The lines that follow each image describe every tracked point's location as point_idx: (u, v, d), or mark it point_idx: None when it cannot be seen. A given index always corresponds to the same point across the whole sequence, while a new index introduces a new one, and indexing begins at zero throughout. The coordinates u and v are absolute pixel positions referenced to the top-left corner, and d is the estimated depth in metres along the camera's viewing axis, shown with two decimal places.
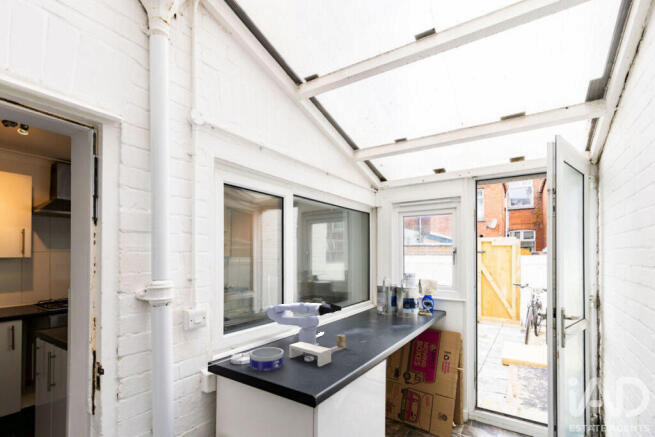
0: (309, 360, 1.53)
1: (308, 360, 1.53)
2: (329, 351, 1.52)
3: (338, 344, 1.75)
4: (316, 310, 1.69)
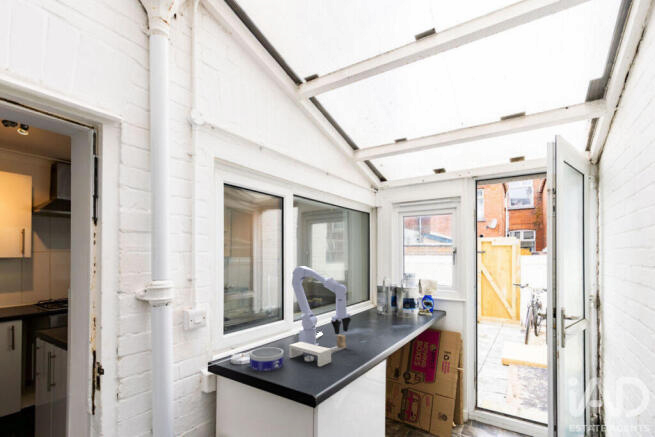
0: (309, 360, 1.53)
1: (308, 360, 1.53)
2: (329, 351, 1.52)
3: (338, 344, 1.75)
4: (333, 319, 1.71)
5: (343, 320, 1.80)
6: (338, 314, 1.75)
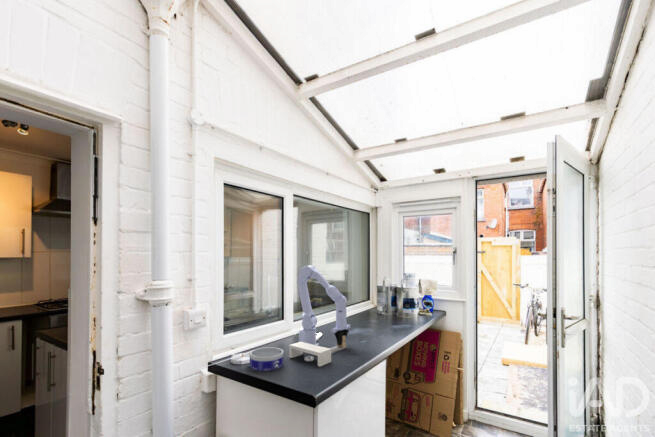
0: (309, 360, 1.53)
1: (308, 360, 1.53)
2: (329, 351, 1.52)
3: None
4: (333, 331, 1.71)
5: (341, 332, 1.78)
6: (338, 326, 1.74)
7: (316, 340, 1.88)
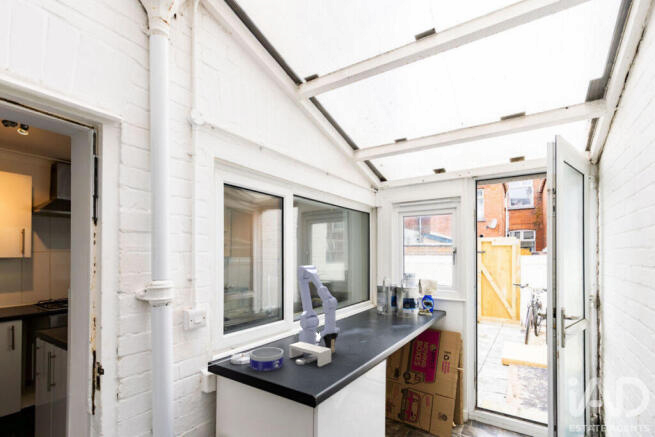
0: (300, 363, 1.49)
1: (299, 363, 1.49)
2: (329, 351, 1.52)
3: None
4: (321, 335, 1.63)
5: (329, 335, 1.70)
6: (327, 329, 1.67)
7: (319, 340, 1.88)
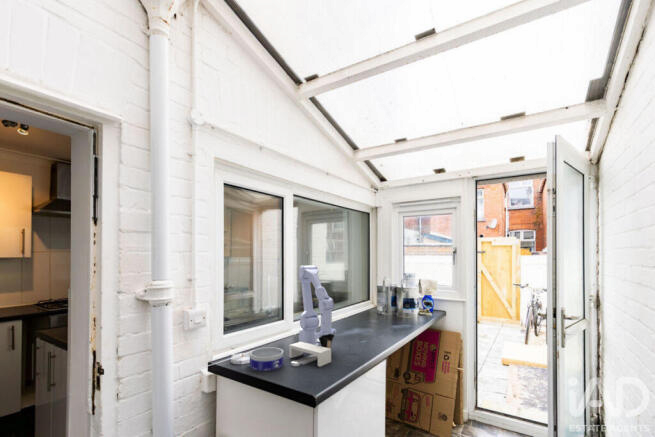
0: (295, 365, 1.46)
1: (294, 365, 1.46)
2: (329, 351, 1.52)
3: None
4: (317, 336, 1.61)
5: (326, 337, 1.68)
6: (323, 330, 1.64)
7: None
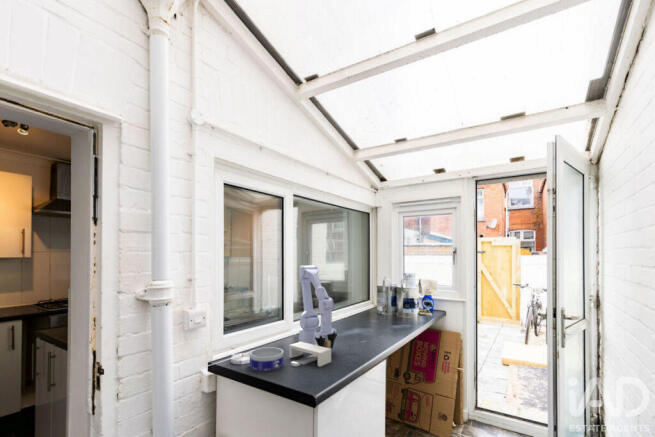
0: (295, 365, 1.46)
1: (294, 365, 1.46)
2: (329, 351, 1.52)
3: None
4: (317, 336, 1.61)
5: (328, 336, 1.70)
6: (323, 330, 1.64)
7: None
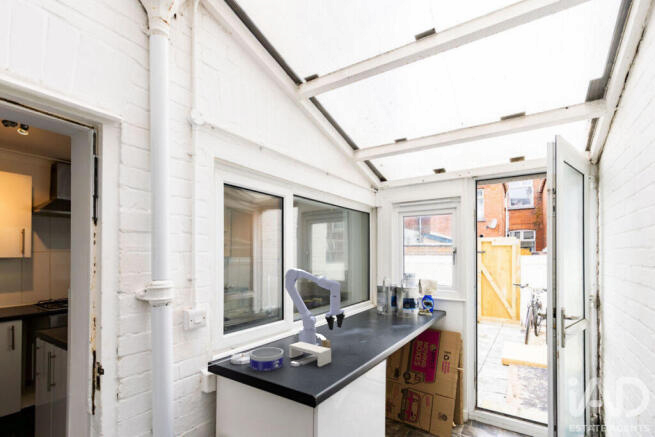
0: (295, 365, 1.46)
1: (294, 365, 1.46)
2: (329, 351, 1.52)
3: None
4: (327, 316, 1.75)
5: (337, 316, 1.84)
6: (332, 310, 1.78)
7: None
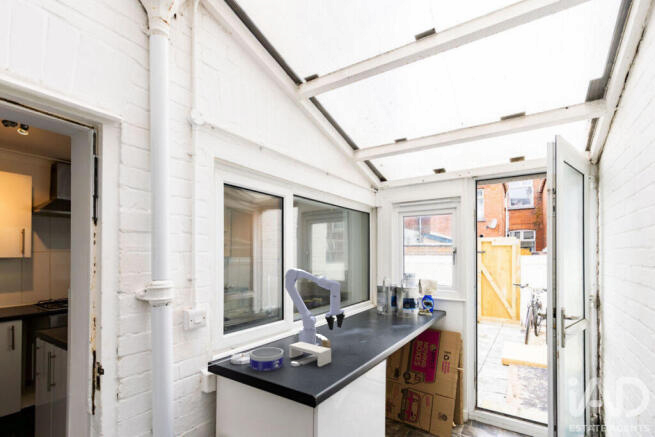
0: (295, 365, 1.46)
1: (294, 365, 1.46)
2: (329, 351, 1.52)
3: None
4: (327, 316, 1.75)
5: (337, 316, 1.84)
6: (332, 310, 1.78)
7: None
